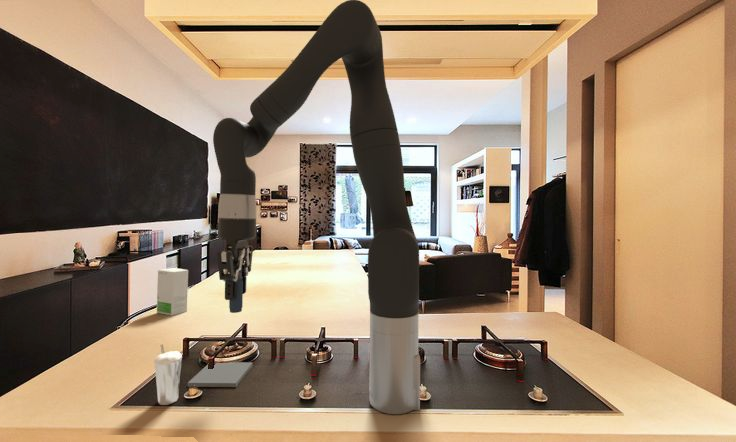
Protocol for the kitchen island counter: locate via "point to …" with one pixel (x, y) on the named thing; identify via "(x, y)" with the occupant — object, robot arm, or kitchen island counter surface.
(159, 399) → the milkshake
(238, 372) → the charcoal mat
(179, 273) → the skincare box
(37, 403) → the kitchen island counter surface
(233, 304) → the vaping device
